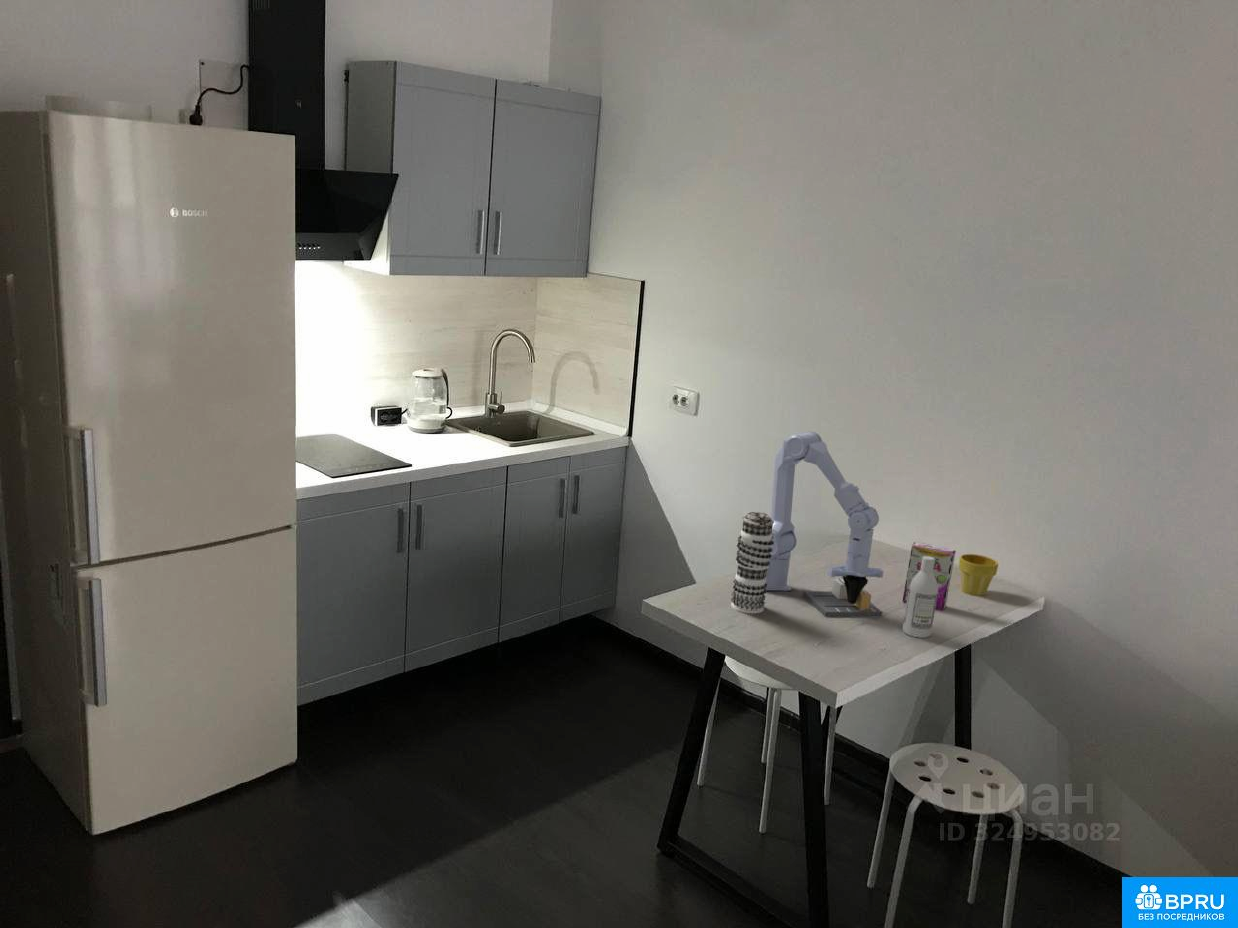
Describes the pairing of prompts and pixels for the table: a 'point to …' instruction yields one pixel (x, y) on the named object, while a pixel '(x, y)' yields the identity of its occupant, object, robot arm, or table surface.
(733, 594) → the decorative candle
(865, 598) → the amber fader knob
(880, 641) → the table surface
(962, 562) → the plant pot
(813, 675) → the table surface
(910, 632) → the bath foam
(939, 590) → the candy bar box
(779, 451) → the robot arm
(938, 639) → the table surface
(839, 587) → the cream fader knob
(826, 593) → the mixing board
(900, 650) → the table surface
